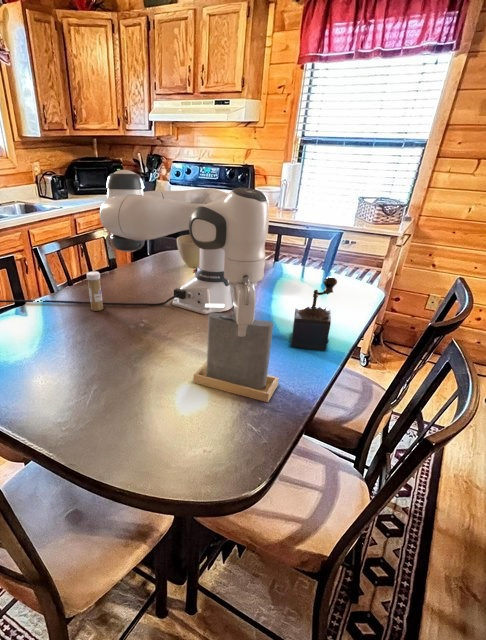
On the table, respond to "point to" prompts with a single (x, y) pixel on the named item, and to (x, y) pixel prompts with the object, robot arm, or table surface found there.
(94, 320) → the table surface
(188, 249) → the flower pot
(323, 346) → the dark brown coffee grinder
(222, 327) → the hip flask
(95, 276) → the sprinkles bottle
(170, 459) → the table surface
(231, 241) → the robot arm
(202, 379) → the flask stand
